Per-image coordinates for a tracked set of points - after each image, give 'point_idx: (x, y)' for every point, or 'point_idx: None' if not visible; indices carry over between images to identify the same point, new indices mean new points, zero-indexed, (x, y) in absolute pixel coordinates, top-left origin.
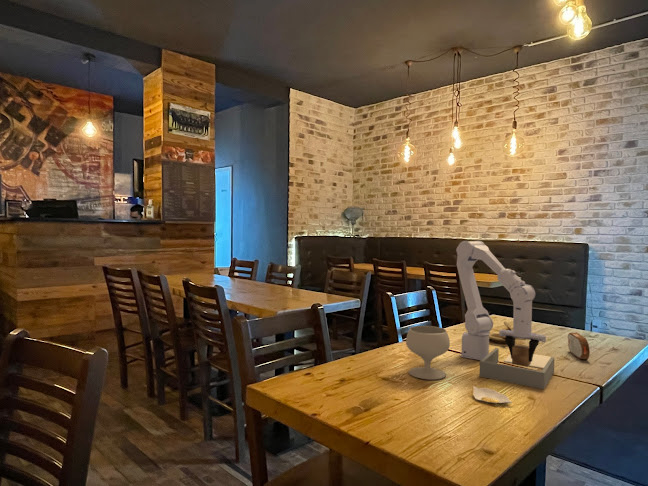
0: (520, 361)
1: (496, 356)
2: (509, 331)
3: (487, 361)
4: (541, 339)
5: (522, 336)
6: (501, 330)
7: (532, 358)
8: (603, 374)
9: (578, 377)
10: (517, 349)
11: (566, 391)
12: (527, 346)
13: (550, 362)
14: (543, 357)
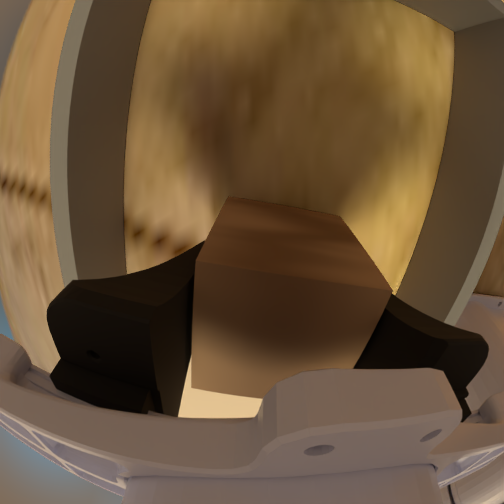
0: (284, 214)
1: (422, 302)
2: (446, 478)
3: (495, 90)
4: (8, 370)
5: (292, 402)
6: (500, 451)
7: (227, 402)
8: (14, 308)
9: (34, 238)
10: (331, 268)
11: (66, 6)
12: (221, 370)
13: (52, 172)
14: (192, 417)
